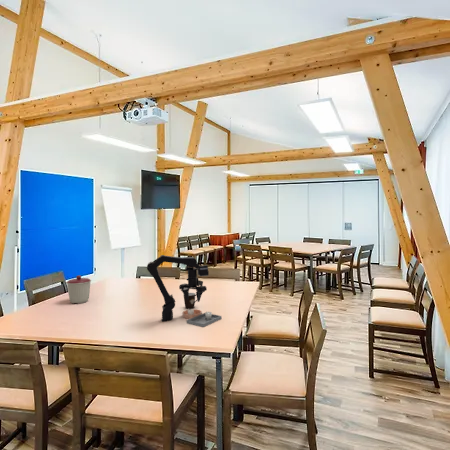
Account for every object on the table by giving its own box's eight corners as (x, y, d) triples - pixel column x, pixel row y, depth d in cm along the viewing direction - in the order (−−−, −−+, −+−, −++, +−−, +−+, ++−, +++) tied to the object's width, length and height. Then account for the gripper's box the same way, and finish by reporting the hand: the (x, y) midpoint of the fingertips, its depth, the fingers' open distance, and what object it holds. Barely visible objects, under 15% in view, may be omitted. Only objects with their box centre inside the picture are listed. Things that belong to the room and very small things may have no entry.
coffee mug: (184, 310, 226) (183, 295, 226) (183, 306, 235) (183, 293, 235) (200, 308, 229) (200, 294, 228) (199, 305, 237) (198, 292, 237)
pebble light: (191, 318, 206) (191, 311, 206) (186, 317, 208) (186, 310, 208) (195, 316, 209) (195, 309, 209) (190, 315, 211) (190, 309, 211)
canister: (66, 301, 258) (65, 274, 258) (90, 298, 267) (90, 272, 266) (67, 306, 242) (66, 278, 242) (92, 303, 250) (92, 276, 250)
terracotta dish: (193, 321, 202) (193, 316, 202) (178, 317, 209) (178, 313, 209) (205, 316, 212) (205, 311, 212) (191, 313, 219) (191, 308, 219)
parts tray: (203, 328, 188) (203, 324, 188) (186, 324, 196) (186, 320, 196) (221, 320, 203) (221, 316, 203) (205, 316, 210) (205, 312, 210)
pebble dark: (209, 320, 200) (208, 313, 200) (204, 319, 202) (203, 312, 202) (212, 318, 203) (212, 312, 203) (207, 317, 205) (207, 311, 205)
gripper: (211, 275, 208) (212, 299, 209) (189, 273, 219) (190, 296, 219) (200, 278, 199) (201, 304, 200) (178, 276, 210) (179, 300, 210)
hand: (193, 300), depth 207 cm, fingers open, 9 cm apart
